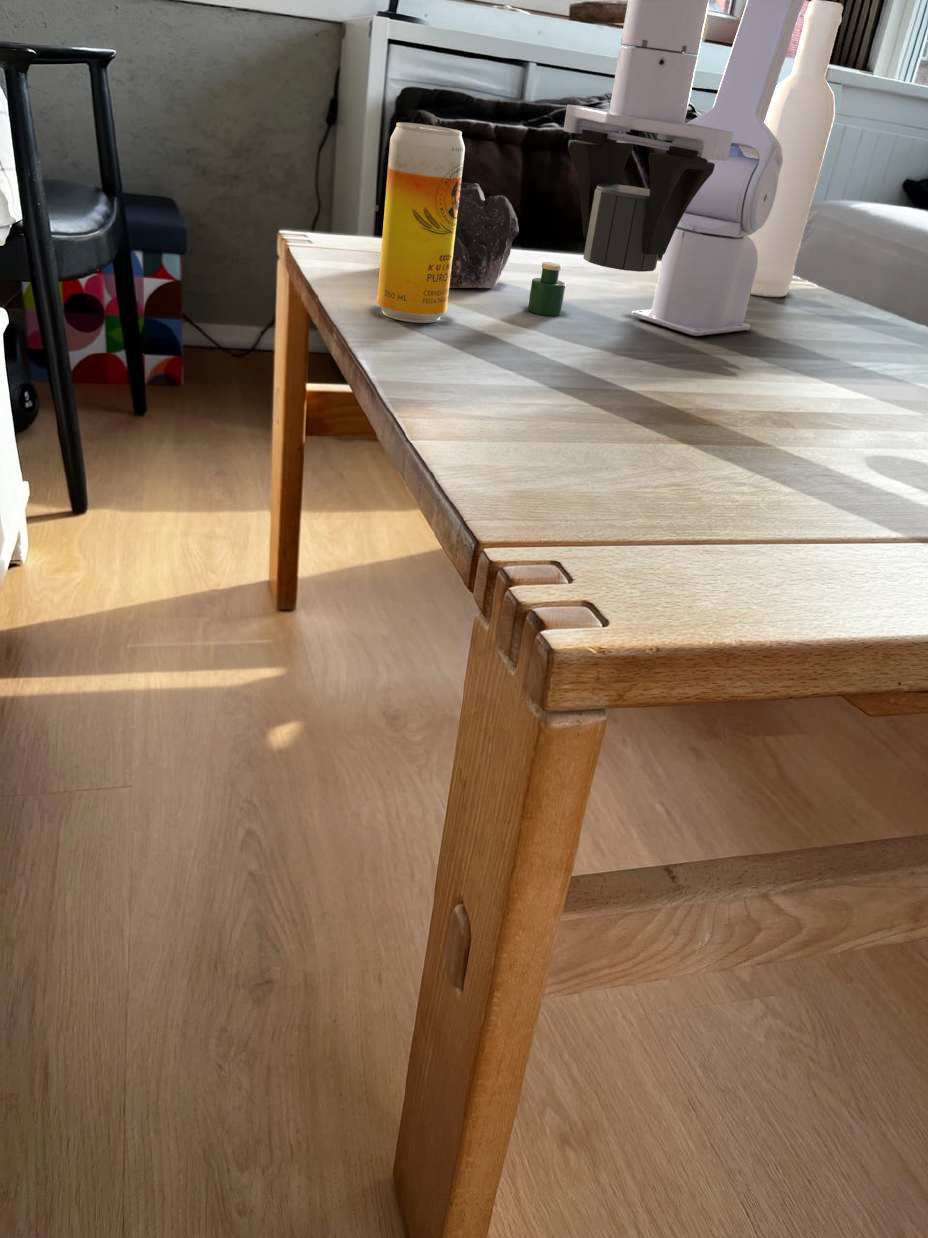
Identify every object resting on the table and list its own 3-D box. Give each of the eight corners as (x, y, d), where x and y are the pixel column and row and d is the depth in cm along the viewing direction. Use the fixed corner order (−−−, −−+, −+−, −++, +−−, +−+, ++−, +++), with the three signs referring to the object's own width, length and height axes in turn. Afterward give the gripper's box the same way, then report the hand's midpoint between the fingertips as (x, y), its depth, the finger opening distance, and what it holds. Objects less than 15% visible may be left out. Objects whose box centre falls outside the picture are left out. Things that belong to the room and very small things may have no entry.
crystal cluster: (355, 281, 102) (367, 177, 97) (402, 252, 113) (415, 156, 108) (481, 317, 100) (500, 212, 95) (516, 283, 111) (536, 187, 106)
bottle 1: (543, 306, 100) (551, 259, 98) (567, 314, 98) (575, 267, 96) (520, 308, 98) (527, 260, 96) (544, 316, 96) (552, 268, 94)
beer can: (437, 328, 87) (458, 134, 79) (367, 316, 87) (382, 122, 80) (451, 314, 92) (473, 131, 85) (386, 303, 93) (402, 120, 85)
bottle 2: (796, 293, 125) (873, 9, 110) (775, 300, 119) (854, 1, 104) (734, 279, 128) (801, 2, 114) (711, 285, 122) (779, -6, 108)
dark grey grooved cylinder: (614, 254, 86) (627, 184, 83) (669, 270, 82) (684, 196, 79) (569, 256, 82) (581, 182, 79) (624, 272, 78) (639, 196, 76)
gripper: (550, 36, 77) (523, 227, 83) (708, 55, 68) (664, 266, 74) (610, 45, 81) (580, 226, 88) (766, 65, 72) (719, 263, 79)
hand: (622, 245), depth 81 cm, fingers closed on dark grey grooved cylinder, 5 cm apart
